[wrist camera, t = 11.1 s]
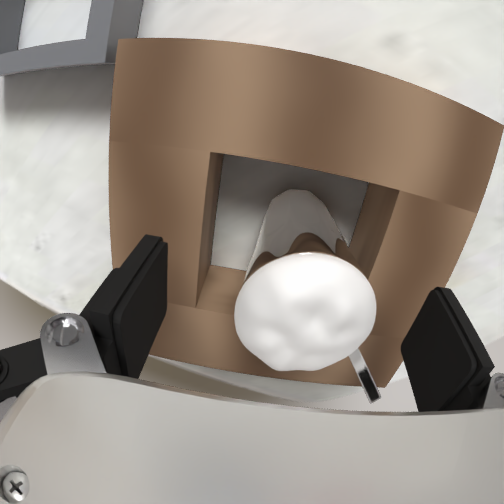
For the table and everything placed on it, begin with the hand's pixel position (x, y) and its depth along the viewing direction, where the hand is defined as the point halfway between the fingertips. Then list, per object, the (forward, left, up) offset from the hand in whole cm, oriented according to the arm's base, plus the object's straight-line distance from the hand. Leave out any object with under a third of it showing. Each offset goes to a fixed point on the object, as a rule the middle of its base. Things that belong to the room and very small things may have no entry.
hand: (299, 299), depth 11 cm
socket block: (0, 0, -7) cm, 7 cm away
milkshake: (-1, 0, -7) cm, 7 cm away
